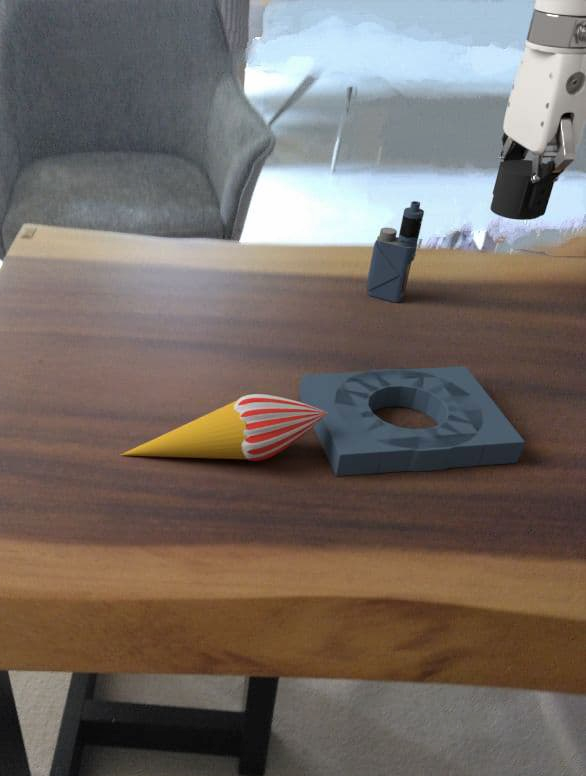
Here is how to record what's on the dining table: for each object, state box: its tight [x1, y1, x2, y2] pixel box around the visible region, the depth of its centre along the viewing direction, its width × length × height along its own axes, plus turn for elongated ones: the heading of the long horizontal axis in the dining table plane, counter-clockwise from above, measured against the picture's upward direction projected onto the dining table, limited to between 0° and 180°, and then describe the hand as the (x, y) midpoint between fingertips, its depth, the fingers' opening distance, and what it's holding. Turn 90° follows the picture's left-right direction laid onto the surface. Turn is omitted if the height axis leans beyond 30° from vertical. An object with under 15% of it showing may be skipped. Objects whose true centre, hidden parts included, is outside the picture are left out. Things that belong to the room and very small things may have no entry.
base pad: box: [298, 365, 526, 477], centre depth 79 cm, size 18×14×2 cm
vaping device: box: [365, 200, 425, 303], centre depth 98 cm, size 3×5×12 cm, turn 58°
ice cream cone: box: [120, 393, 328, 462], centre depth 74 cm, size 6×6×20 cm
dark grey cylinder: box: [489, 159, 546, 221], centre depth 95 cm, size 6×6×5 cm
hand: (517, 204), depth 96 cm, fingers closed on dark grey cylinder, 6 cm apart
